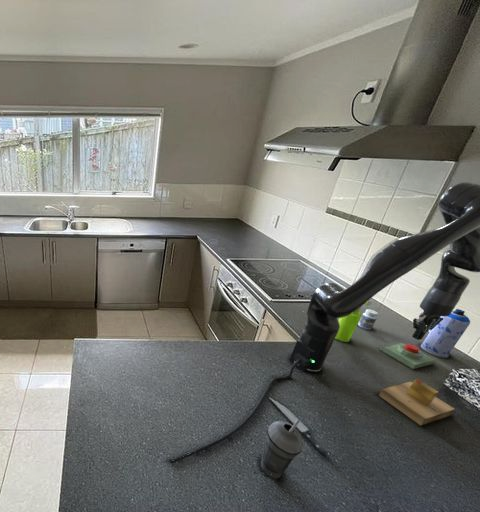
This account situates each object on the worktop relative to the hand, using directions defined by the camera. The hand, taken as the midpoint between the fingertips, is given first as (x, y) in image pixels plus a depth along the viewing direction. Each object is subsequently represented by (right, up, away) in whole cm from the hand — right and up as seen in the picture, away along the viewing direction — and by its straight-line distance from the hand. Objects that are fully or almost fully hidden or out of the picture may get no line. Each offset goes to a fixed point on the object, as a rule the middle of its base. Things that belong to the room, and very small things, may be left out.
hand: (416, 338), depth 108 cm
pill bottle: (+1, -1, +22) cm, 22 cm away
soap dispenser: (-18, -4, +13) cm, 22 cm away
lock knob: (-21, -14, -18) cm, 31 cm away
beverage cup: (-80, -23, -36) cm, 91 cm away
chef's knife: (-65, -18, -25) cm, 72 cm away
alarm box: (0, -9, +3) cm, 9 cm away
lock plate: (-21, -17, -17) cm, 32 cm away
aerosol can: (+16, -8, +8) cm, 20 cm away
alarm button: (0, -5, +2) cm, 6 cm away
